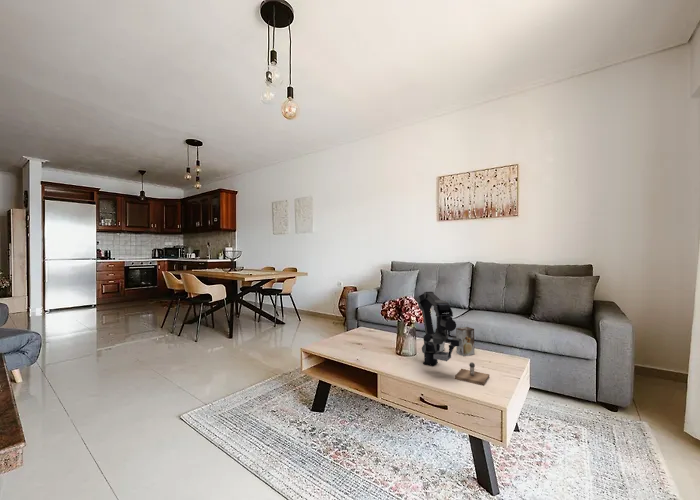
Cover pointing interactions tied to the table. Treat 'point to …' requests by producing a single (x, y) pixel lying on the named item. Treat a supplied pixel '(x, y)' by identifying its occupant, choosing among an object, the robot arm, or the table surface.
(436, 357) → the metal link
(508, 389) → the table surface
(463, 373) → the square knob plate
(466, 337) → the coffee box
